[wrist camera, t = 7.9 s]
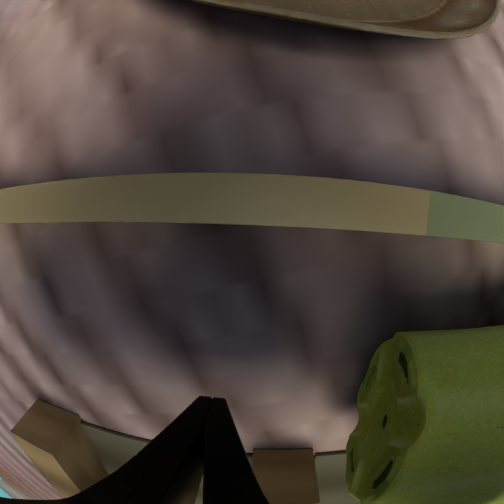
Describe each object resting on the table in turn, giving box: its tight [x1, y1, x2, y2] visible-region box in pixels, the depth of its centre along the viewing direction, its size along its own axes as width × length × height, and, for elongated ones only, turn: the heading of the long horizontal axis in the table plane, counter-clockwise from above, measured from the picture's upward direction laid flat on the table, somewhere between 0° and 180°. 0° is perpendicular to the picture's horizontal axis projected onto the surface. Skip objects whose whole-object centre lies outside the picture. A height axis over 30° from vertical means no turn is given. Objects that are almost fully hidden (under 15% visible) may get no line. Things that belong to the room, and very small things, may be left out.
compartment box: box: [0, 173, 504, 504], centre depth 9 cm, size 23×28×6 cm
